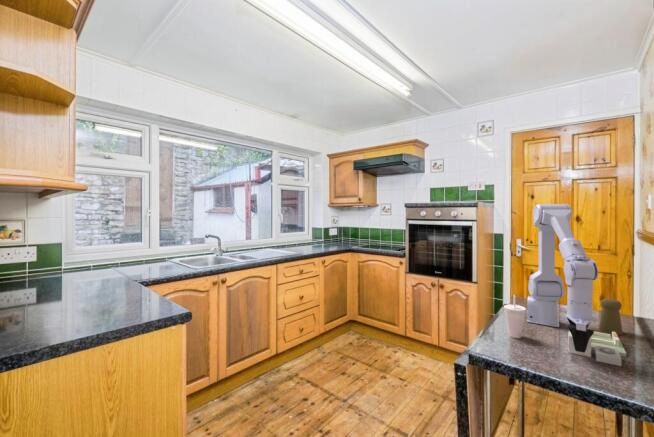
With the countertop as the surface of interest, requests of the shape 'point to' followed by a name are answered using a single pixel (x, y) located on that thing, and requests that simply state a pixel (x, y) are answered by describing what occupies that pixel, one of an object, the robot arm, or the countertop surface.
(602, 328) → the dark olive bottle
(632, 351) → the countertop surface
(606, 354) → the fan housing
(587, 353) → the white block
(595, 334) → the board
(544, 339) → the countertop surface
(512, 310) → the smoothie
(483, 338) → the countertop surface
